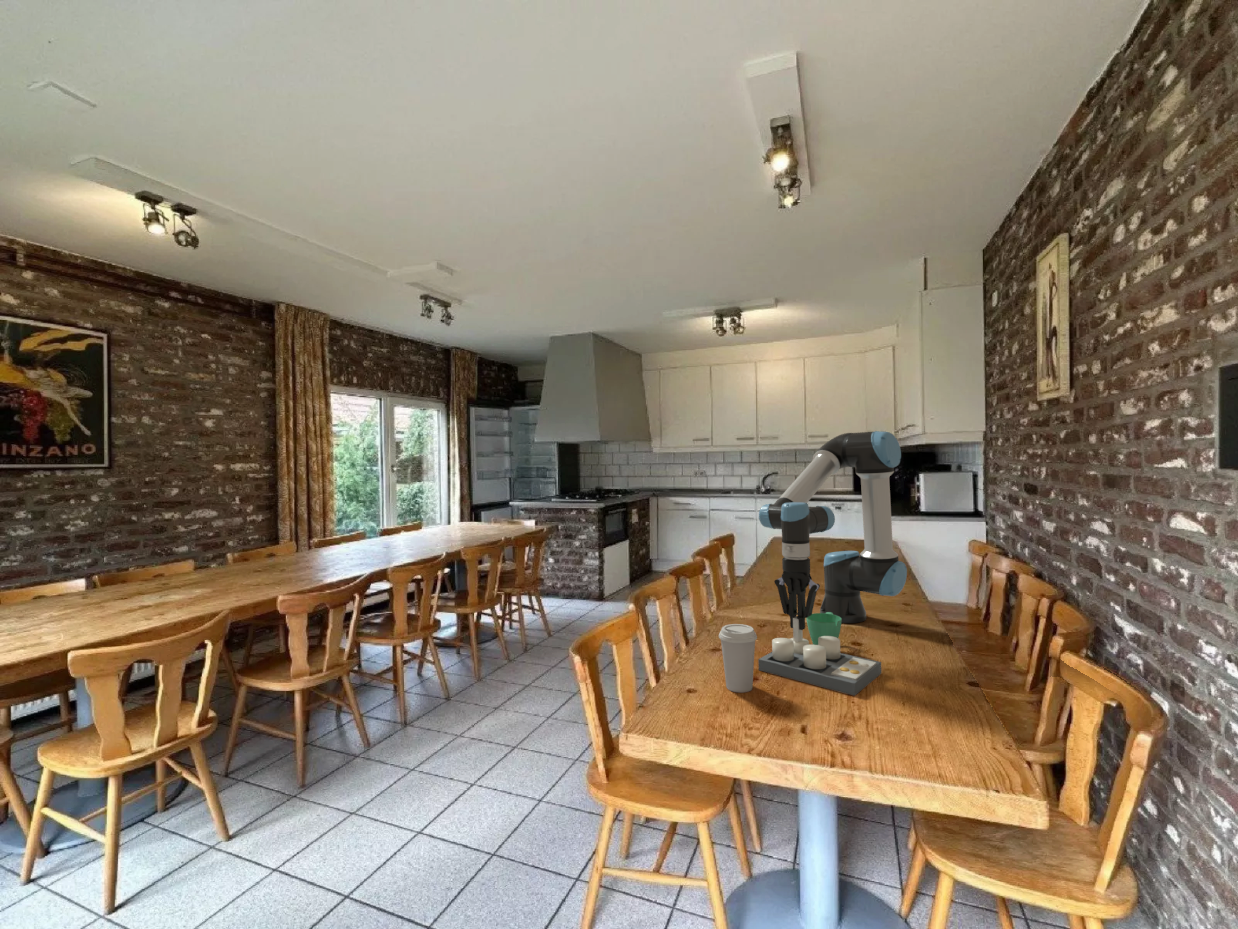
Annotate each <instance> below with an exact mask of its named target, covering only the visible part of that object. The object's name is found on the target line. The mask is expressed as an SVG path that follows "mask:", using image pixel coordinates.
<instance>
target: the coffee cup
mask: <svg viewBox="0 0 1238 929" xmlns="http://www.w3.org/2000/svg"><path fill="white" fill-rule="evenodd" d="M718 639H720V642H721V651H722V652H721V653H722V661H723V669H724V677H725V678H724V679H725V686H726V688H727V690H729V691H731V692H734V693H742V694H743V693H748V692H751V691H752V690H753V684H754V669H755V668H754V667H755V666H754V665H755V662H754V661H755V651H756V650H755V647H756V640H757V639H758V636H757V633H756V631H755V630H754V627H753V626H751V625H747V624H742V623H741V624H740V623H732V624H726V625H723V626H722V627H721V630H720V632H719V634H718Z"/></svg>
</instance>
